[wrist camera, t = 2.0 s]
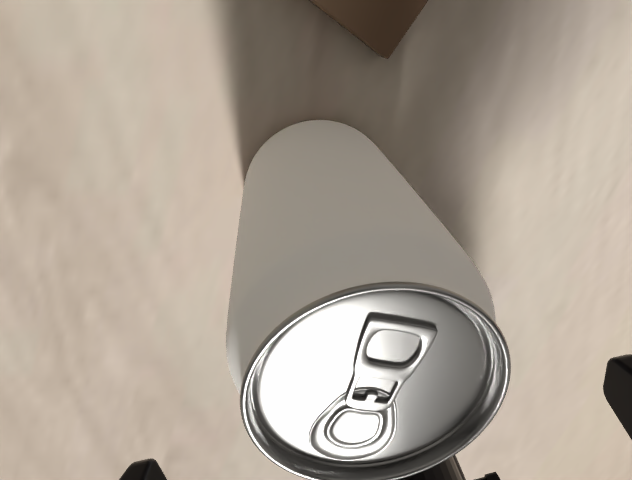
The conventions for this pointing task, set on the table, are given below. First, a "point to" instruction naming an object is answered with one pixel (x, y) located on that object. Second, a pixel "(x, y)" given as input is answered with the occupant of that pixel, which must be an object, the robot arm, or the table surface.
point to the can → (355, 315)
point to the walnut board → (374, 20)
